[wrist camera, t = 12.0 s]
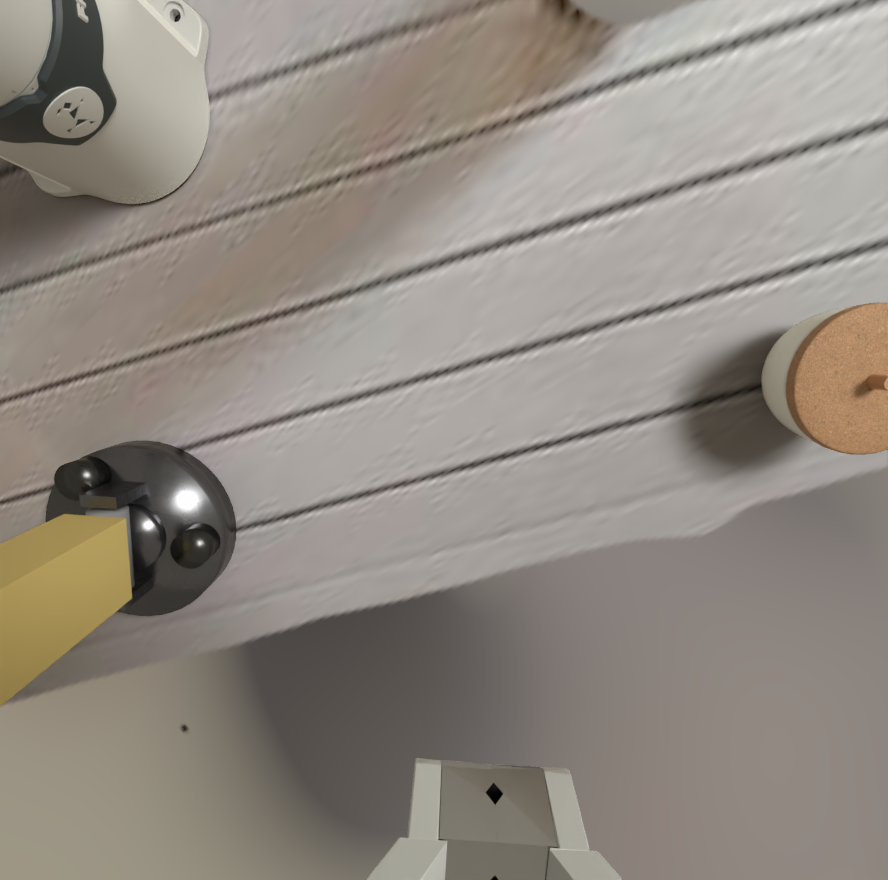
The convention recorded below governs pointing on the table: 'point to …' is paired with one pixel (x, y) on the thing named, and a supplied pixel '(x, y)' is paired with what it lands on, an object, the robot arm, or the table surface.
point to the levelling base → (155, 517)
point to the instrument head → (60, 589)
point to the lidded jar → (833, 379)
